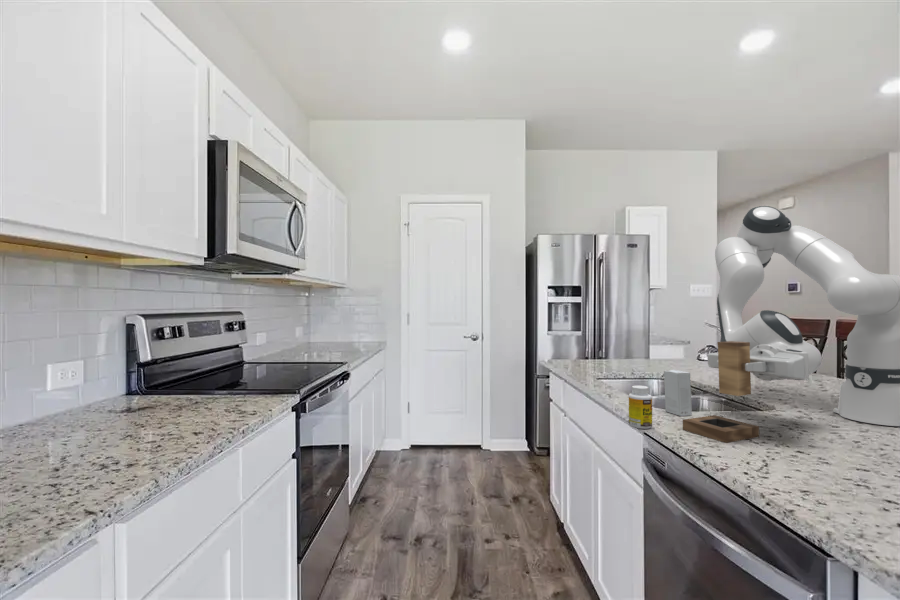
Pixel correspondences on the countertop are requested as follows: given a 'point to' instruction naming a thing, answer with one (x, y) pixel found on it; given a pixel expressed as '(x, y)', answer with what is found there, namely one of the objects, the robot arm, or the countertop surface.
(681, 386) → the skincare box
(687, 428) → the wooden square frame
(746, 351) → the peg
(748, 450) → the countertop surface
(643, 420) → the supplement bottle
